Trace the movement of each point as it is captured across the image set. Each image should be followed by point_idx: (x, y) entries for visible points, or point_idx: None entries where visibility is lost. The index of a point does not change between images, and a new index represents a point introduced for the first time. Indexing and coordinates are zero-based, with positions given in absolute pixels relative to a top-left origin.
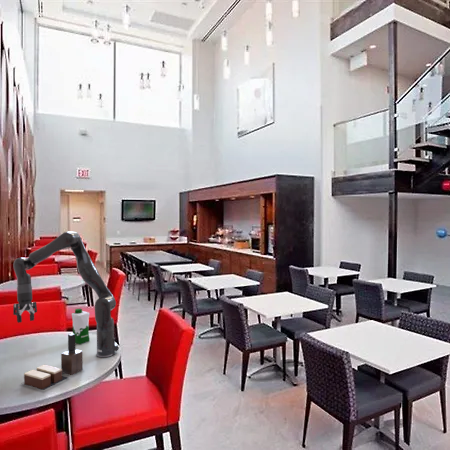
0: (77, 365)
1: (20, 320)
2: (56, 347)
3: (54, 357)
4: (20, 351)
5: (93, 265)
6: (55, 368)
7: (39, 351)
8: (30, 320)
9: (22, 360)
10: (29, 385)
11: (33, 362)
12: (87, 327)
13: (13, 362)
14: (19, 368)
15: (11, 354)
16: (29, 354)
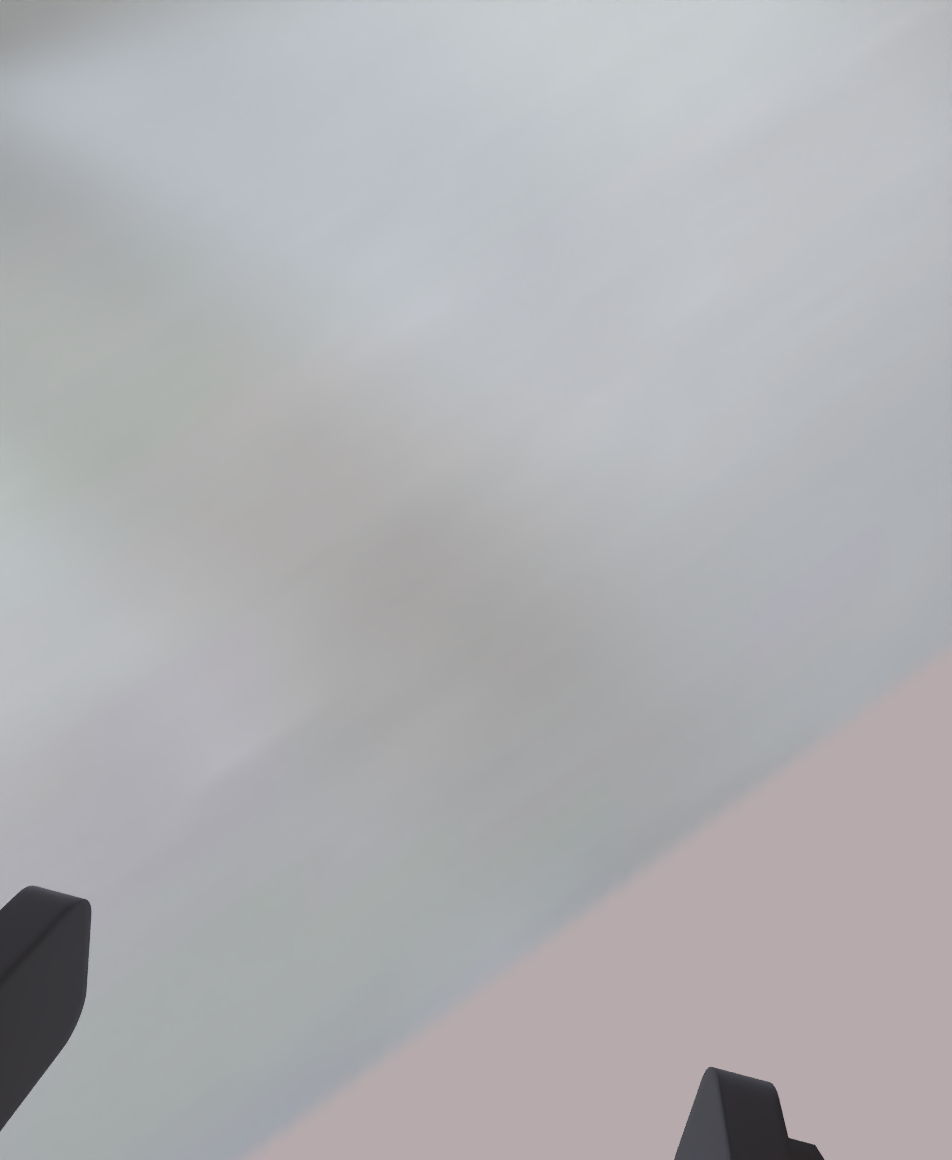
0: None
1: (781, 1154)
2: (18, 372)
3: (459, 152)
4: (287, 867)
5: None
6: None
7: (243, 562)
8: (76, 1010)
9: (626, 602)
10: None
11: (683, 384)
12: None
13: (708, 687)
14: (904, 459)
15: (422, 920)
16: (387, 646)
